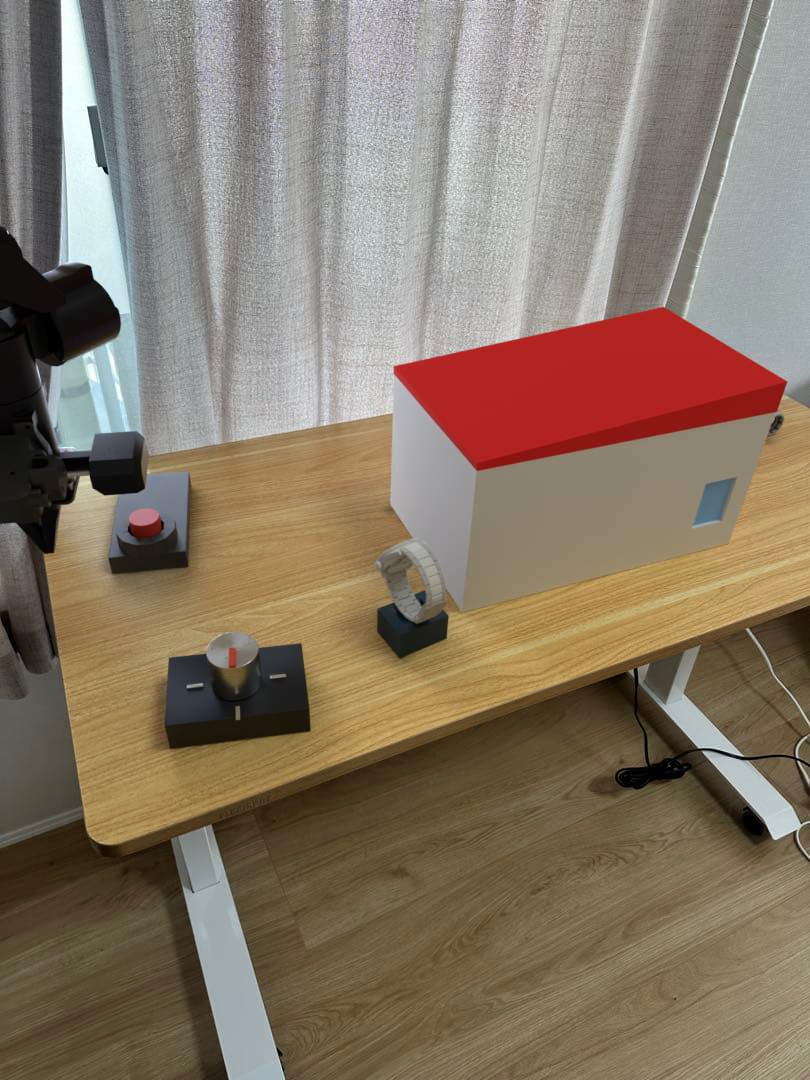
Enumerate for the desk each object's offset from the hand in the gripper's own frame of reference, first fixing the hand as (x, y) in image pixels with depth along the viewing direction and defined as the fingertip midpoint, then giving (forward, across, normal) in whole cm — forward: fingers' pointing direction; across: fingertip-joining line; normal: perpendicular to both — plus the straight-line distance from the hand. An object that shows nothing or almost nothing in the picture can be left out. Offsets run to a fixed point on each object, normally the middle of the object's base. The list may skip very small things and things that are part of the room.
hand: (50, 550), depth 70 cm
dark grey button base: (+12, +6, +19) cm, 23 cm away
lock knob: (+9, +15, -9) cm, 20 cm away
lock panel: (+12, +15, -10) cm, 21 cm away
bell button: (+8, +6, +14) cm, 17 cm away
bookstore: (+12, +53, +13) cm, 56 cm away
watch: (+12, +32, -3) cm, 34 cm away
